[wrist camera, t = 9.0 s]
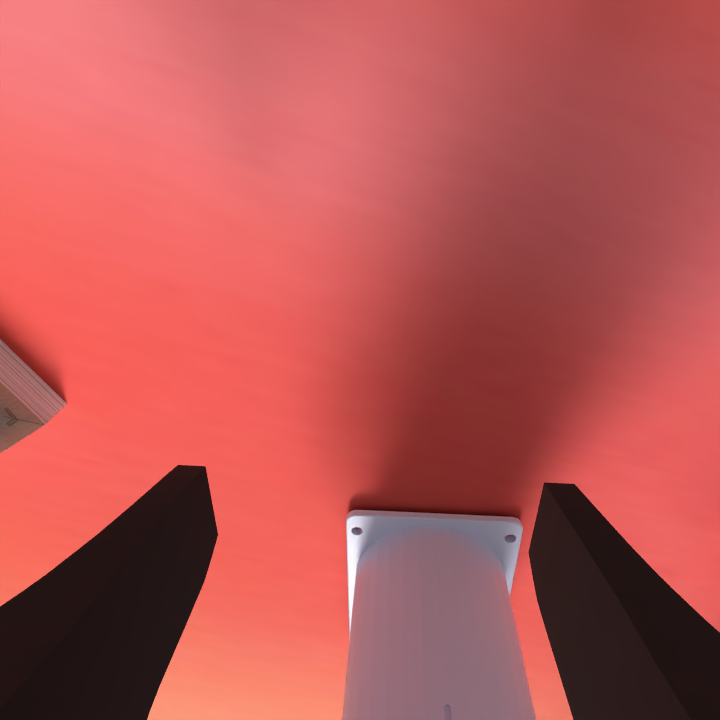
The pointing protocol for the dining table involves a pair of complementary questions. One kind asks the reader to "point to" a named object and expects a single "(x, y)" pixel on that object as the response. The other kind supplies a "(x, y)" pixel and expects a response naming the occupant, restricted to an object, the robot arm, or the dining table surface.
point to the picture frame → (22, 399)
